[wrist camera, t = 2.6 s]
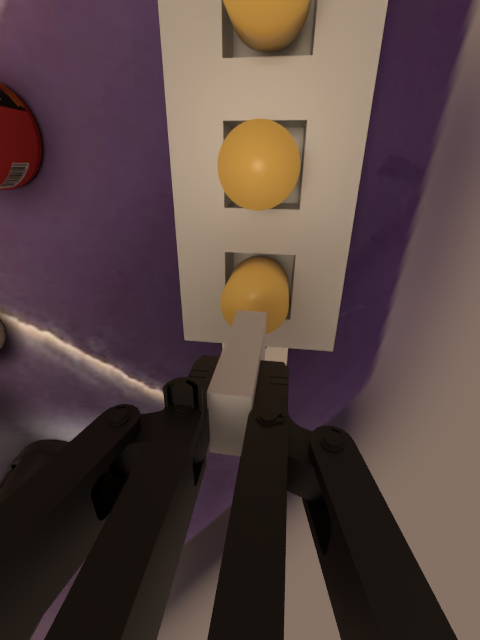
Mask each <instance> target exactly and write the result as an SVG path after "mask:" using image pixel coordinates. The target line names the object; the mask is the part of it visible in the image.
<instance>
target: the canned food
mask: <svg viewBox="0 0 480 640" xmlns="http://www.w3.org/2000/svg"><path fill="white" fill-rule="evenodd" d="M41 158H42V144H41V137H40V133H39V129H38V126H37V124H36V122H35V119H34V117H33V115H32V114H31V112H30V110H29V109H28V107H27V106H26V105H25V103H24V102H23V101H22V100H21V99H20V98H19V97H18V96H17V95H16V94H15V93H14V92H13V91H11V90H10V89H9V88H7V87H6V86H4V85H3V84H1V83H0V190H8V189H15V188H18V187H20V186H22V185H24V184H25V183H27V182H28V181H29V180H31V179H32V178H33V177H34V175H35V174H36V173H37V170H38V168H39V166H40V162H41Z"/></svg>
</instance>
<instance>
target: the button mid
mask: <svg viewBox="0 0 480 640" xmlns="http://www.w3.org/2000/svg"><path fill="white" fill-rule="evenodd" d="M217 168H218V176H219V180H220V183H221V185H222V188H223V190H224V191H225V193H226V194H227V196H228V197H229V198H230V199H231V200H232V201H233V202H234V203H236V204H237V205H239V206H241V207H243V208H245V209H249V210H255V211H261V210H267V209H270V208H273V207H275V206H277V205H279V204H280V203H282V202H283V201H284V200H285V199H286V198H287V197H288V196H289V195H290V193H291V192H292V190H293V189H294V187H295V185H296V182H297V180H298V176H299V172H300V155H299V151H298V147H297V145H296V142H295V140H294V138H293V137H292V136H291V134H290V133H289V132H288V131H287V130H286V129H285V128H284V127H283V126H282V125H280V124H278V123H277V122H274V121H272V120H268V119H252V120H248V121H245V122H243V123H241V124H239V125H238V126H237V127H235V128H234V129H233V130H232V131H231V132H230V133H229V134H228V135H227V137H226V138H225V140H224V142H223V143H222V146H221V148H220V151H219V155H218V164H217Z"/></svg>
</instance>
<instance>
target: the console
mask: <svg viewBox="0 0 480 640" xmlns="http://www.w3.org/2000/svg"><path fill="white" fill-rule="evenodd" d="M387 4H388V0H311V5H310V10H309V14H308V17H307V20H306V22H305V24H304V26H303V28H302V30H301V31H300V33H299V34H298V35H297V37H296V38H295V39H294V40H293V41H292V42H291V43H290V44H289V45H287V46H286V47H284V48H283V49H280V50H278V51H275V52H269V53H263V52H258V51H255V50H253V49H251V48H249V47H248V46H247V45H246V44H244V43H243V42H242V40H241V39H240V38H239V37H238V35H237V33H236V32H235V30H234V27H233V25H232V22H231V20H230V17H229V15H228V12H227V10H226V7H225V5H224V2H223V0H158V9H159V22H160V34H161V47H162V60H163V73H164V86H165V98H166V111H167V124H168V137H169V149H170V162H171V175H172V188H173V200H174V213H175V226H176V239H177V251H178V264H179V277H180V290H181V302H182V315H183V328H184V340H189V341H202V342H215V343H225V342H226V340H227V337H228V334H229V332H230V329H231V326H230V325H229V324H228V323H227V321H226V320H225V318H224V316H223V314H222V311H221V306H220V299H221V295H222V292H223V290H224V288H225V286H226V284H227V282H228V280H229V278H230V276H231V275H232V273H233V271H234V269H235V268H236V266H237V265H238V264H239V263H240V262H242V261H243V260H245V259H247V258H250V257H254V256H265V257H268V258H271V259H273V260H275V261H276V262H278V263H279V264H280V265H281V266H282V267H283V268H284V270H285V272H286V274H287V276H288V281H289V309H288V314H287V317H286V319H285V321H284V322H283V323H282V325H281V326H280V327H279V328H278V329H276V330H275V331H273V332H271V333H269V334H266V344H265V346H268V347H281V348H294V349H307V350H320V351H333V347H334V341H335V335H336V328H337V322H338V316H339V309H340V303H341V296H342V290H343V284H344V277H345V271H346V265H347V258H348V252H349V246H350V239H351V233H352V227H353V220H354V214H355V208H356V201H357V195H358V188H359V182H360V176H361V169H362V163H363V157H364V150H365V144H366V138H367V131H368V125H369V119H370V112H371V106H372V100H373V93H374V87H375V81H376V74H377V68H378V61H379V55H380V49H381V42H382V36H383V30H384V23H385V17H386V11H387ZM252 119H268V120H272V121H274V122H277V123H278V124H280V125H282V126H283V127H284V128H285V129H286V130H287V131H288V132H289V133H290V134H291V136H292V137H293V138H294V140H295V142H296V145H297V147H298V151H299V155H300V172H299V176H298V180H297V182H296V185H295V187H294V189H293V190H292V192H291V193H290V195H289V196H288V197H287V198H286V199H285V200H284V201H283V202H282V203H280V204H279V205H277V206H275V207H273V208H270V209H267V210H261V211H255V210H249V209H245V208H243V207H241V206H239V205H237V204H236V203H234V202H233V201H232V200H231V199H230V198H229V197H228V196H227V194H226V193H225V191H224V190H223V188H222V185H221V183H220V180H219V176H218V168H217V164H218V155H219V151H220V148H221V146H222V143H223V142H224V140H225V138H226V137H227V135H228V134H229V133H230V132H231V131H232V130H233V129H234V128H235V127H237V126H238V125H239V124H241V123H243V122H245V121H248V120H252Z"/></svg>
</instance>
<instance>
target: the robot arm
mask: <svg viewBox="0 0 480 640" xmlns="http://www.w3.org/2000/svg"><path fill="white" fill-rule="evenodd" d="M266 323H267V312H258V311H243V310H237V313H236V316H235V318H234V321H233V324H232V326H231V329H230V332H229V334H228V337H227V340H226V342H225V345H224V348H223V350H222V353H221V356H220V357H211V356H202V357H201V358H199V359H198V360H197V361H196V362H195V363H194V365H193V367H192V369H191V371H190V373H189V375H188V377H183V378H177V379H173V380H171V381H169V382H168V383H166V384H165V386H164V387H163V394H164V402H165V408H164V410H162V411H159V412H154V413H147V414H140V412H139V410H138V408H137V407H135V406H133V405H128V404H122V405H117V406H114V407H111V408H109V409H108V410H106V411H105V412H103V413H102V414H101V415H100V416H99V417H98V418H96V419H95V420H94V421H93V422H92V423H91V424H90V425H89V426H87V427H86V428H85V429H84V430H83V431H82V432H81V433H79V434H78V435H77V436H76V437H75V438H74V439H73V440H72V441H70V442H69V443H66V442H61V441H53V440H45V441H38V442H35V443H32V444H30V445H28V446H27V447H25V448H24V449H23V450H22V451H21V452H20V454H19V455H18V456H17V457H16V458H15V459H14V460H13V461H12V463H11V464H10V466H9V467H8V469H7V472H6V474H5V476H4V478H3V480H2V482H1V484H0V640H30V639H31V637H32V635H33V634H34V632H35V630H36V628H37V626H38V624H39V622H40V621H41V619H42V617H43V615H44V613H45V612H46V611H47V609H48V608H49V607H50V605H51V604H52V603H53V601H54V600H55V599H56V597H57V596H58V595H59V593H60V592H61V591H62V589H63V588H64V587H65V586H66V584H67V583H68V582H69V580H70V579H71V578H72V576H73V575H74V574H75V572H76V571H77V570H78V568H79V567H80V566H81V564H82V563H83V562H84V560H85V559H86V560H85V562H84V564H83V566H82V568H81V570H80V572H79V574H78V576H77V577H76V579H75V581H74V583H73V585H72V587H71V589H70V591H69V593H68V595H67V597H66V599H65V601H64V602H63V604H62V606H61V608H60V610H59V612H58V614H57V616H56V618H55V620H54V622H53V624H52V626H51V628H50V629H49V631H48V633H47V635H46V637H45V639H44V640H157V636H158V632H159V629H160V626H161V622H162V618H163V615H164V611H165V608H166V604H167V601H168V597H169V594H170V590H171V587H172V583H173V580H174V576H175V573H176V569H177V566H178V562H179V558H180V555H181V551H182V548H183V545H184V541H185V538H186V534H187V531H188V527H189V523H190V520H191V516H192V513H193V509H194V506H195V502H196V499H197V495H198V492H199V488H200V485H201V481H202V478H203V474H204V471H205V467H206V452H207V448H208V445H209V452H211V453H218V454H226V455H234V456H241V458H240V463H239V469H238V474H237V480H236V485H235V491H234V496H233V502H232V507H231V513H230V518H229V524H228V529H227V535H226V540H225V546H224V552H223V557H222V563H221V568H220V573H219V579H218V585H217V590H216V595H215V601H214V606H213V612H212V618H211V623H210V628H209V634H208V640H284V601H285V556H286V510H287V491H289V492H291V493H293V494H296V495H298V496H300V497H302V500H303V504H304V508H305V512H306V515H307V518H308V522H309V526H310V529H311V533H312V537H313V540H314V543H315V547H316V550H317V554H318V558H319V562H320V565H321V569H322V573H323V576H324V580H325V583H326V587H327V590H328V594H329V598H330V601H331V605H332V608H333V612H334V615H335V619H336V623H337V626H338V630H339V633H340V637H341V640H458V639H457V637H456V635H455V633H454V632H453V630H452V628H451V626H450V624H449V622H448V620H447V618H446V616H445V614H444V612H443V611H442V609H441V607H440V605H439V603H438V601H437V599H436V597H435V595H434V593H433V591H432V589H431V588H430V586H429V584H428V582H427V580H426V578H425V576H424V574H423V572H422V571H421V568H420V567H419V565H418V563H417V561H416V559H415V557H414V555H413V553H412V551H411V549H410V547H409V546H408V544H407V542H406V540H405V538H404V536H403V534H402V532H401V530H400V528H399V526H398V524H397V523H396V521H395V519H394V517H393V515H392V513H391V511H390V509H389V507H388V505H387V503H386V501H385V500H384V498H383V496H382V494H381V492H380V491H379V488H378V486H377V484H376V482H375V480H374V479H373V477H372V475H371V473H370V471H369V469H368V467H367V465H366V463H365V461H364V459H363V457H362V455H361V454H360V452H359V450H358V448H357V446H356V444H355V442H354V440H353V439H352V438H351V436H350V435H349V434H348V433H346V432H345V431H343V430H342V429H340V428H337V427H334V426H321V427H318V428H316V429H315V430H313V431H309V430H307V429H304V428H302V427H300V426H298V425H297V424H295V423H294V422H293V421H292V420H291V418H290V416H289V414H288V375H289V369H288V368H287V366H286V365H285V363H284V362H277V361H266V360H265V344H266Z"/></svg>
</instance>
